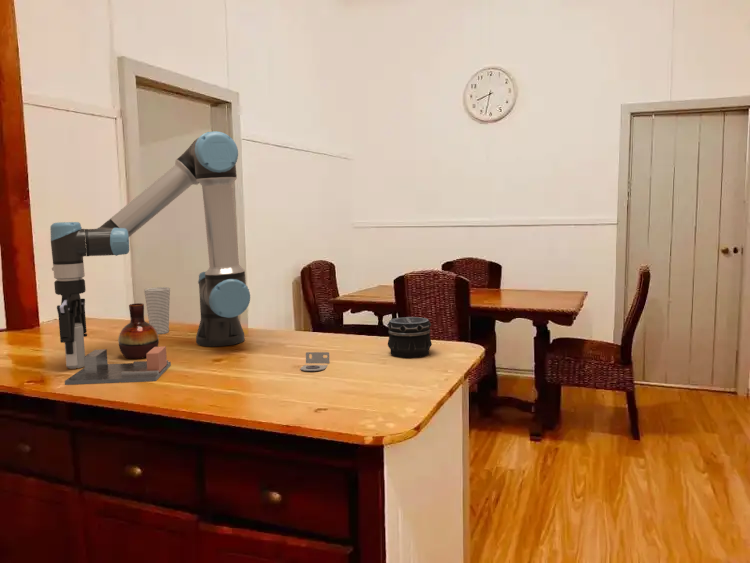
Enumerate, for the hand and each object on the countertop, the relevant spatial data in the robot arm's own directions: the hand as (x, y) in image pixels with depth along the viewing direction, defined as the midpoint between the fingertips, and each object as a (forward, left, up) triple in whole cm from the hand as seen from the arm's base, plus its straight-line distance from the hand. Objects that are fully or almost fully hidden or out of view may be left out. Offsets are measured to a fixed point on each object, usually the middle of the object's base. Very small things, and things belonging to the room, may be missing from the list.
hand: (76, 362), depth 174 cm
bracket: (-66, +10, -2) cm, 67 cm away
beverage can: (0, 0, -1) cm, 1 cm away
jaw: (-24, +10, 0) cm, 26 cm away
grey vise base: (-14, +10, -1) cm, 17 cm away
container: (-93, -1, -2) cm, 93 cm away
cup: (-11, -46, -1) cm, 47 cm away
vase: (-14, -11, -2) cm, 18 cm away
